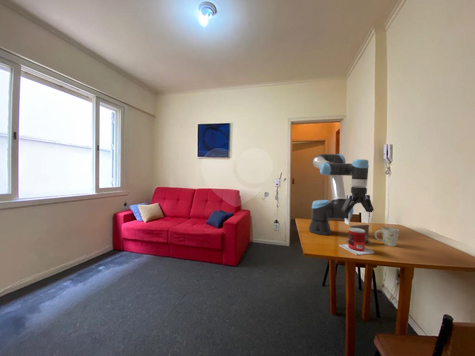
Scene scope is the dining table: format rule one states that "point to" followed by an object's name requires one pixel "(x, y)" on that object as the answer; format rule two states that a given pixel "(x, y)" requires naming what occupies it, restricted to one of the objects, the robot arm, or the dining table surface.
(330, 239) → the dining table surface
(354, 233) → the canned food
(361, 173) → the robot arm
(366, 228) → the brown block
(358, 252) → the mat
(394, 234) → the mug
